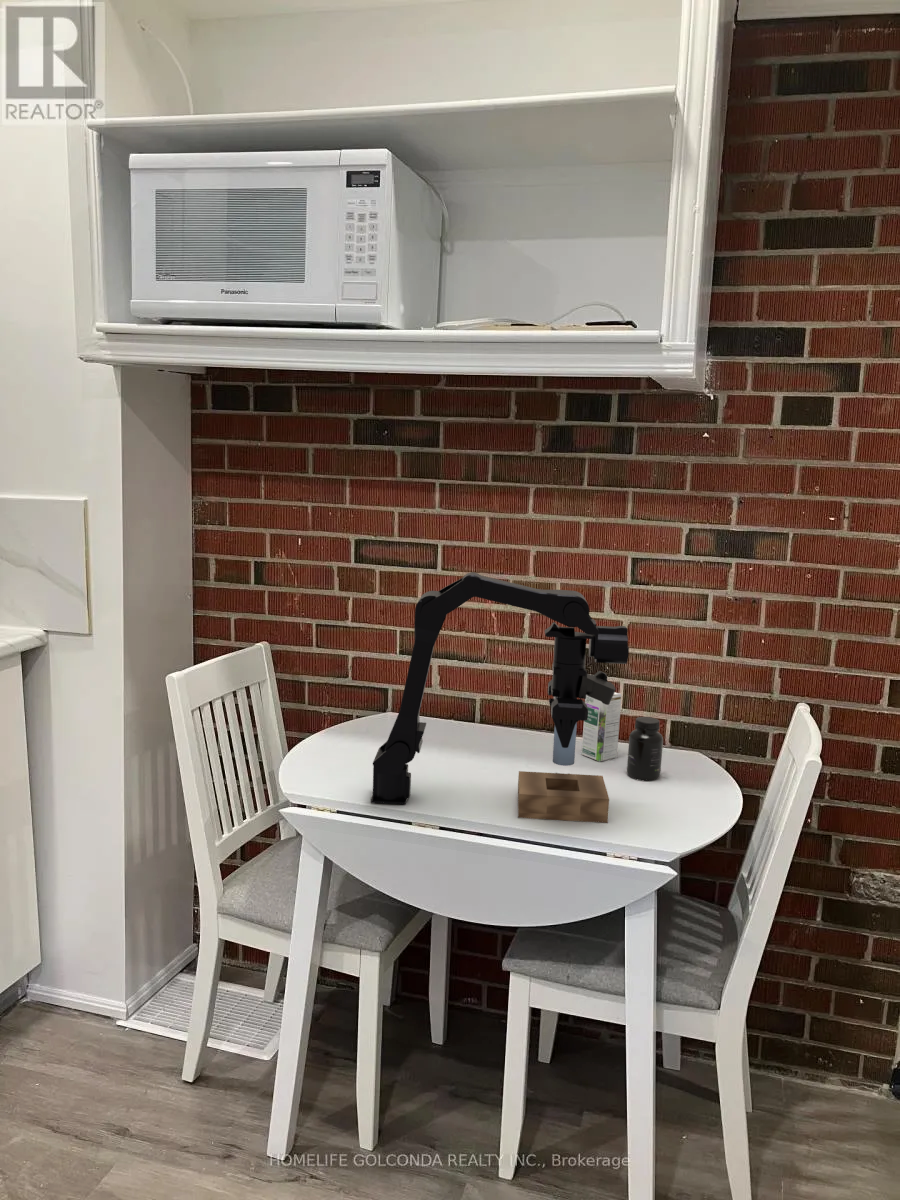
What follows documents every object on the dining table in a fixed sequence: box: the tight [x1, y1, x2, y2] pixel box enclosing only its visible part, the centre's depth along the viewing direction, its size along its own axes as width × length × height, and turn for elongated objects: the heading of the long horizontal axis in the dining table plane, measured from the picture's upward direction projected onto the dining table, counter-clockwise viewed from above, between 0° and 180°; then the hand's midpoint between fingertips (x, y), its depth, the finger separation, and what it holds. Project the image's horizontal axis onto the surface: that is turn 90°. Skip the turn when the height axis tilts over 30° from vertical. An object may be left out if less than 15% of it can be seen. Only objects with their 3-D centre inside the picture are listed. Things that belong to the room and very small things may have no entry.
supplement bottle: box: [626, 716, 664, 782], centre depth 194 cm, size 7×7×12 cm
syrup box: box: [581, 692, 622, 763], centre depth 205 cm, size 6×6×14 cm
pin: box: [552, 722, 578, 767], centre depth 174 cm, size 4×4×10 cm
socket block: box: [517, 770, 610, 824], centre depth 176 cm, size 16×12×4 cm
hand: (564, 743), depth 175 cm, fingers closed on pin, 4 cm apart
